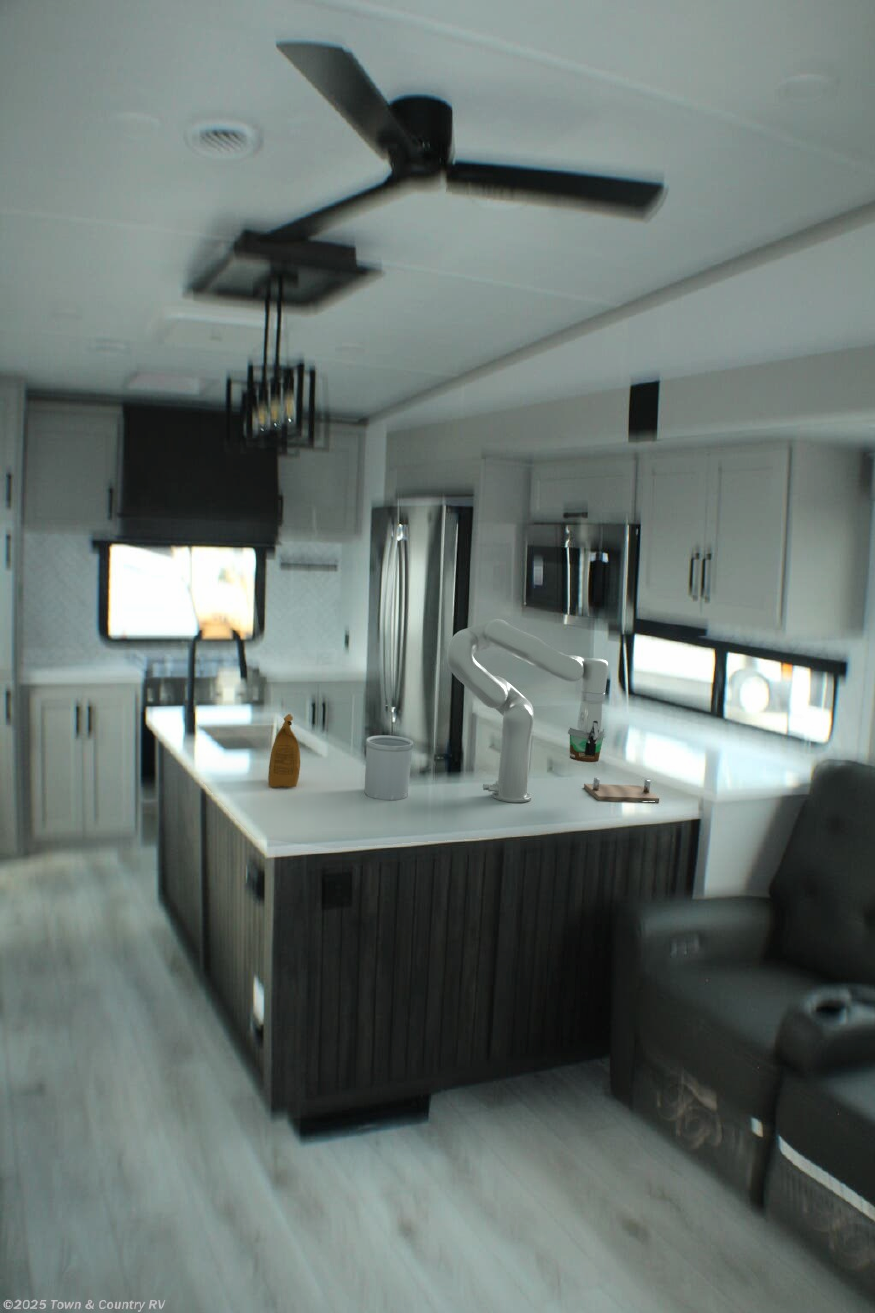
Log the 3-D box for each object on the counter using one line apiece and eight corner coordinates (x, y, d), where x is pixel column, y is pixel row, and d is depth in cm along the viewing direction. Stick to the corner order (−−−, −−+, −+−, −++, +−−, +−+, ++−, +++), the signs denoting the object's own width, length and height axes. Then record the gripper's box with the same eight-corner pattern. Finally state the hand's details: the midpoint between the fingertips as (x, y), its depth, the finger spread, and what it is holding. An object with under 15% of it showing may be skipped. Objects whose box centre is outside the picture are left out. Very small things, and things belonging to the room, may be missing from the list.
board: (598, 800, 328) (600, 784, 327) (583, 787, 343) (585, 772, 343) (658, 802, 331) (660, 786, 330) (641, 790, 347) (643, 774, 346)
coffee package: (301, 780, 324) (305, 714, 321) (297, 790, 312) (301, 721, 309) (270, 778, 323) (274, 712, 321) (265, 788, 311) (269, 719, 308)
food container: (570, 762, 314) (573, 731, 313) (565, 757, 320) (568, 727, 319) (608, 764, 316) (611, 733, 315) (601, 759, 322) (605, 729, 321)
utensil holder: (403, 803, 306) (407, 747, 304) (356, 797, 309) (360, 742, 307) (414, 792, 321) (418, 738, 319) (369, 786, 324) (373, 733, 321)
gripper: (573, 692, 324) (568, 746, 326) (589, 701, 307) (583, 759, 310) (595, 693, 325) (590, 747, 328) (612, 702, 309) (606, 760, 311)
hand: (587, 752), depth 319 cm, fingers closed on food container, 5 cm apart
